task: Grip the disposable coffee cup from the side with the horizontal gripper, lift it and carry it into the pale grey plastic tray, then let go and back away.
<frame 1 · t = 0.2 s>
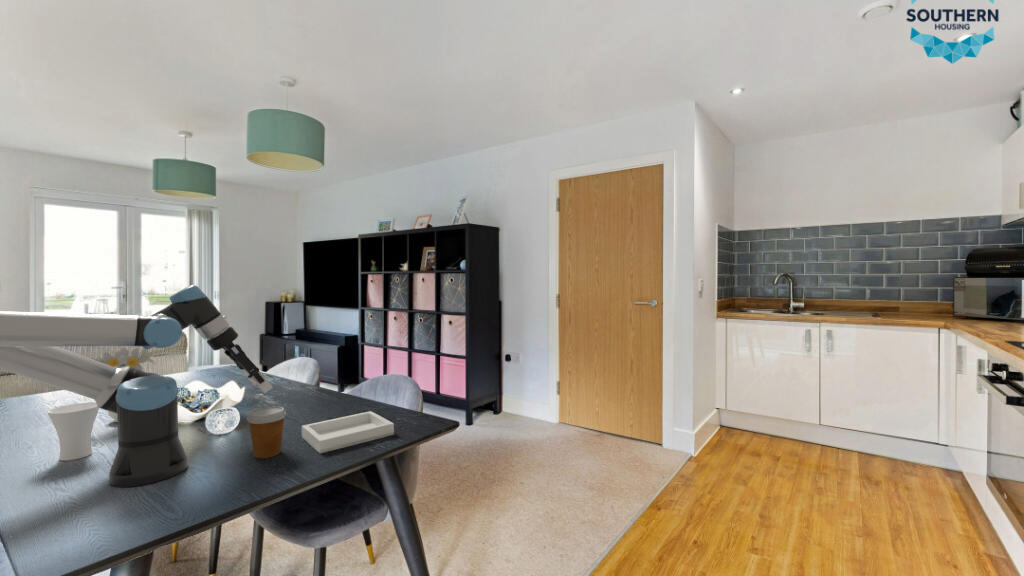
hand: (263, 386, 139), 15 cm above the table, tool tilted 35°, fingers open, 13 cm apart
cup: (76, 456, 122), on the table
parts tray: (348, 435, 136), on the table
flower vase: (124, 421, 153), on the table
disposable coffee cup: (267, 454, 123), on the table
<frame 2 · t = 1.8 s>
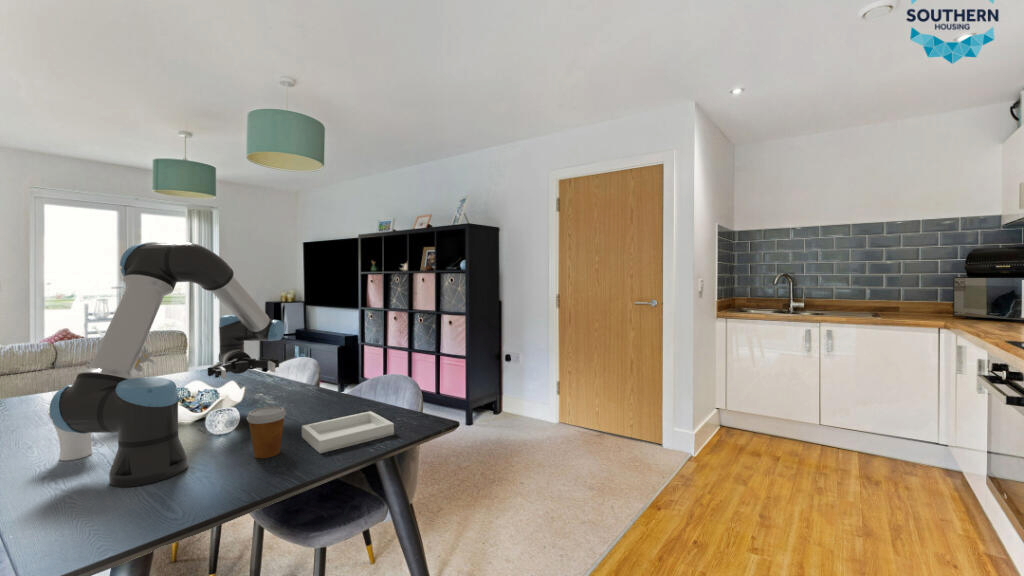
hand: (250, 371, 139), 20 cm above the table, tool horizontal, fingers open, 13 cm apart
nothing on the table moved.
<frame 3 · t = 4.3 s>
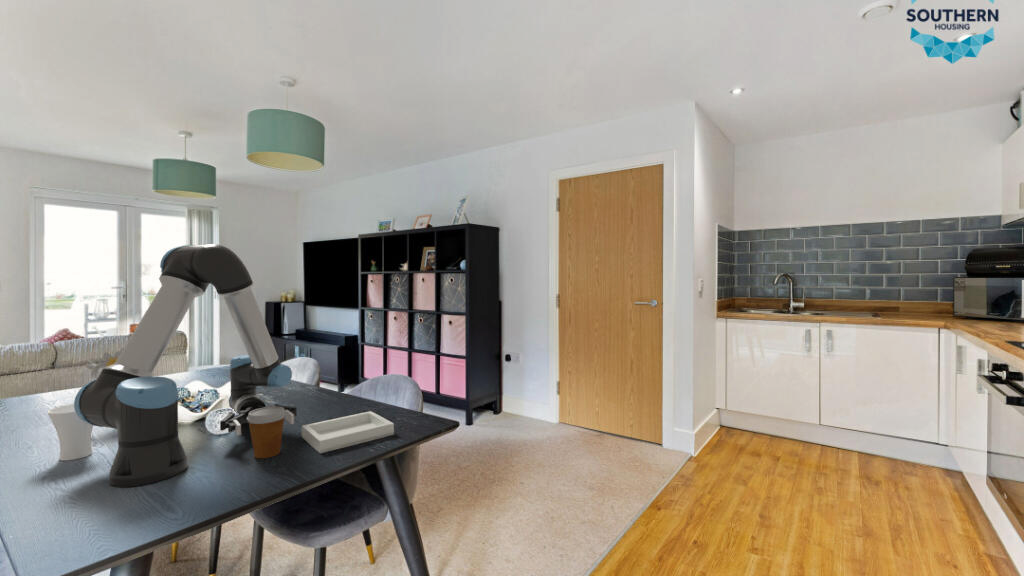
hand: (266, 424, 127), 7 cm above the table, tool horizontal, fingers open, 13 cm apart
nothing on the table moved.
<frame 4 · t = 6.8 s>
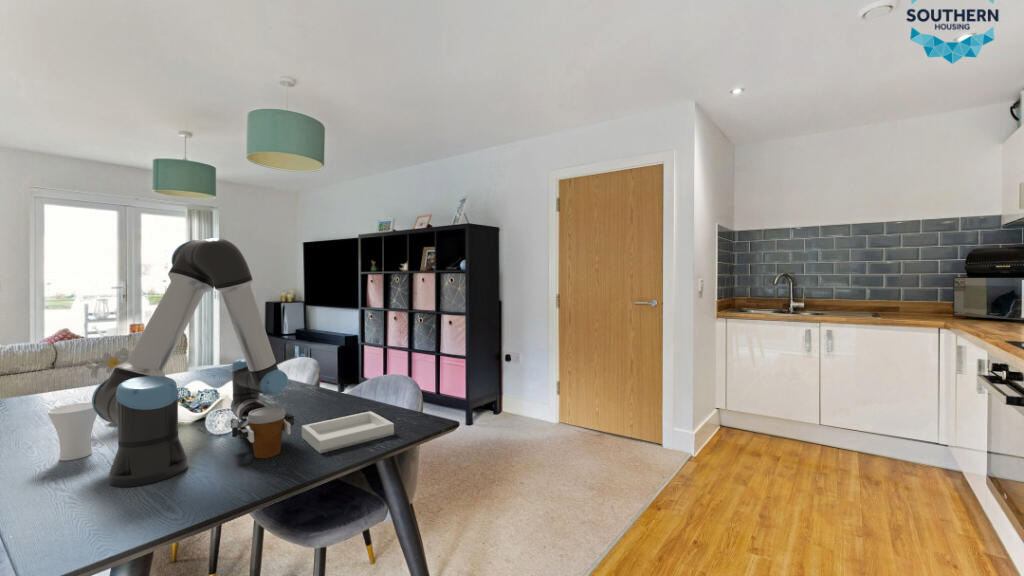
hand: (271, 433, 119), 7 cm above the table, tool horizontal, fingers closed on disposable coffee cup, 8 cm apart
disposable coffee cup: (267, 454, 123), on the table, touching gripper
everything else where it was.
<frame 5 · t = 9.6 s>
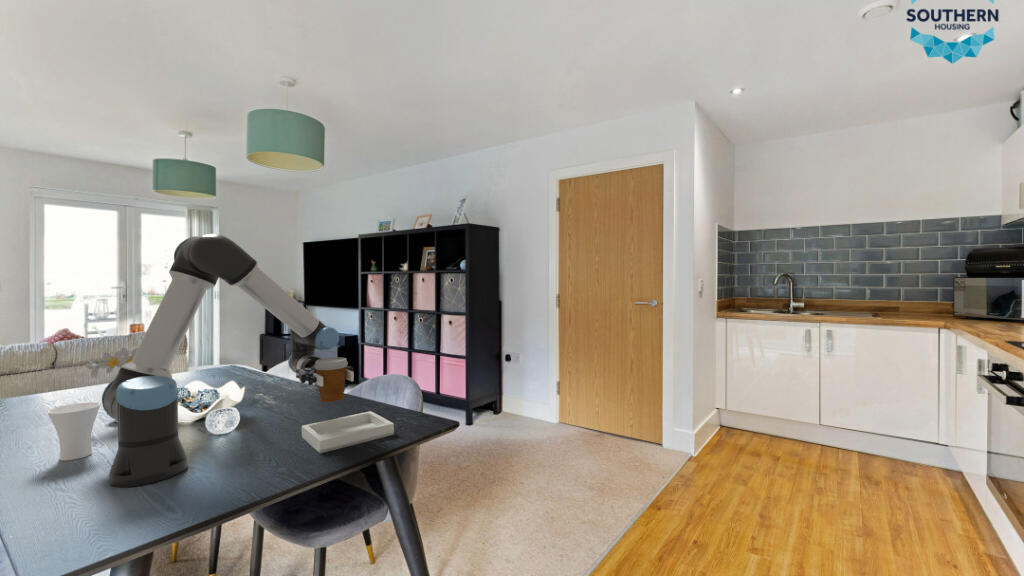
hand: (337, 379, 130), 19 cm above the table, tool horizontal, fingers closed on disposable coffee cup, 8 cm apart
disposable coffee cup: (332, 400, 134), point 12 cm above the table, touching gripper
everything else where it was.
when the fingers open (9 cm above the table, at t = 12.4 s): disposable coffee cup drops 2 cm, resting on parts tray.
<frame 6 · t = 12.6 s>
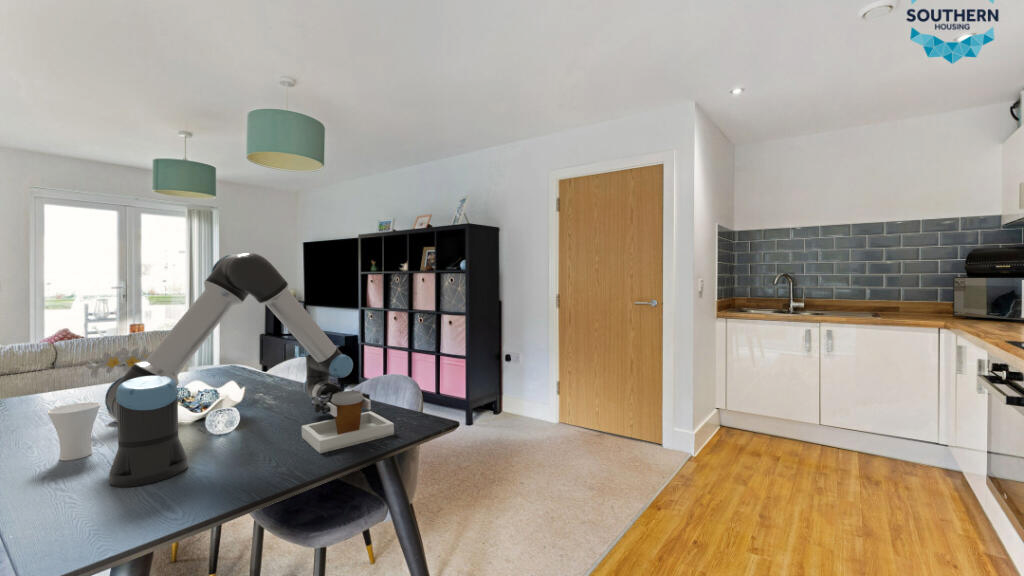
hand: (353, 408, 133), 9 cm above the table, tool horizontal, fingers open, 9 cm apart
disposable coffee cup: (348, 433, 137), point 1 cm above the table, touching gripper, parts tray
everything else where it was.
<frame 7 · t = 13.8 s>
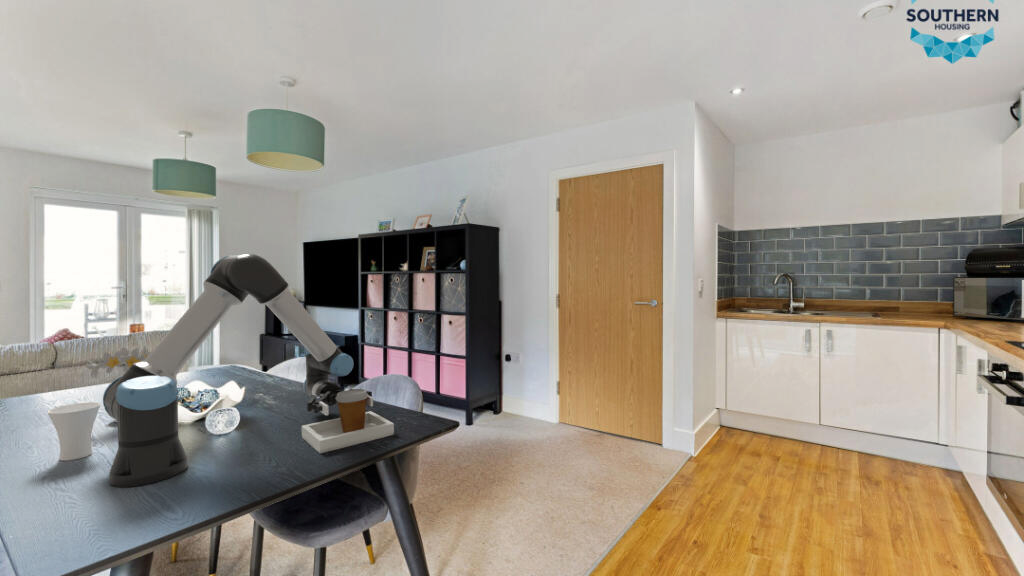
hand: (350, 406, 135), 10 cm above the table, tool horizontal, fingers open, 13 cm apart
disposable coffee cup: (353, 431, 138), point 1 cm above the table, touching gripper, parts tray
everything else where it was.
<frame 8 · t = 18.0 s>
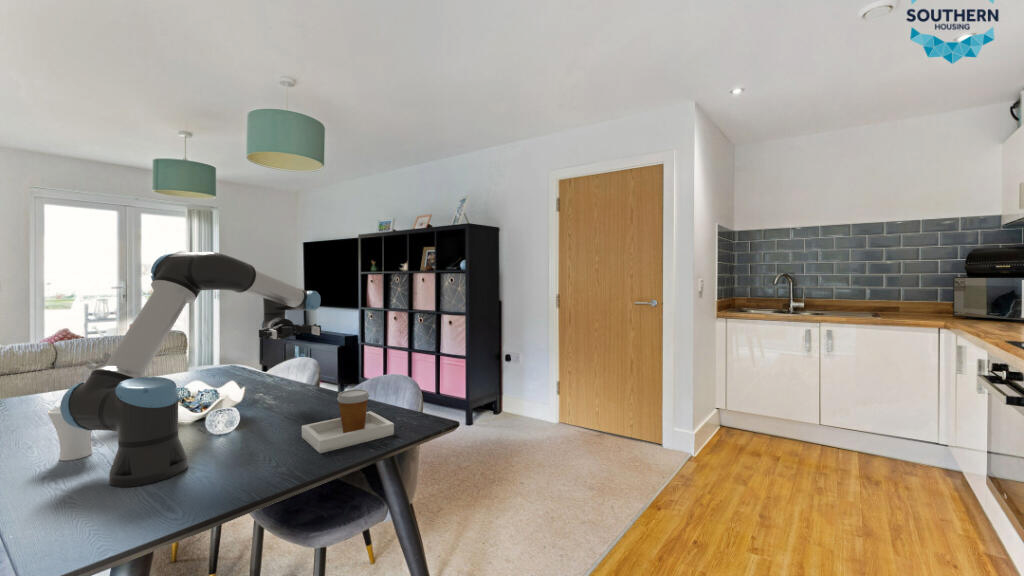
hand: (297, 333, 151), 30 cm above the table, tool horizontal, fingers open, 13 cm apart
disposable coffee cup: (353, 431, 138), point 1 cm above the table, touching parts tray
everything else where it was.
at the end: disposable coffee cup inside the target area on the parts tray (2.2 cm from its centre), point 0.6 cm above the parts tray's base; disposable coffee cup tilted 0°; the gripper is holding nothing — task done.
